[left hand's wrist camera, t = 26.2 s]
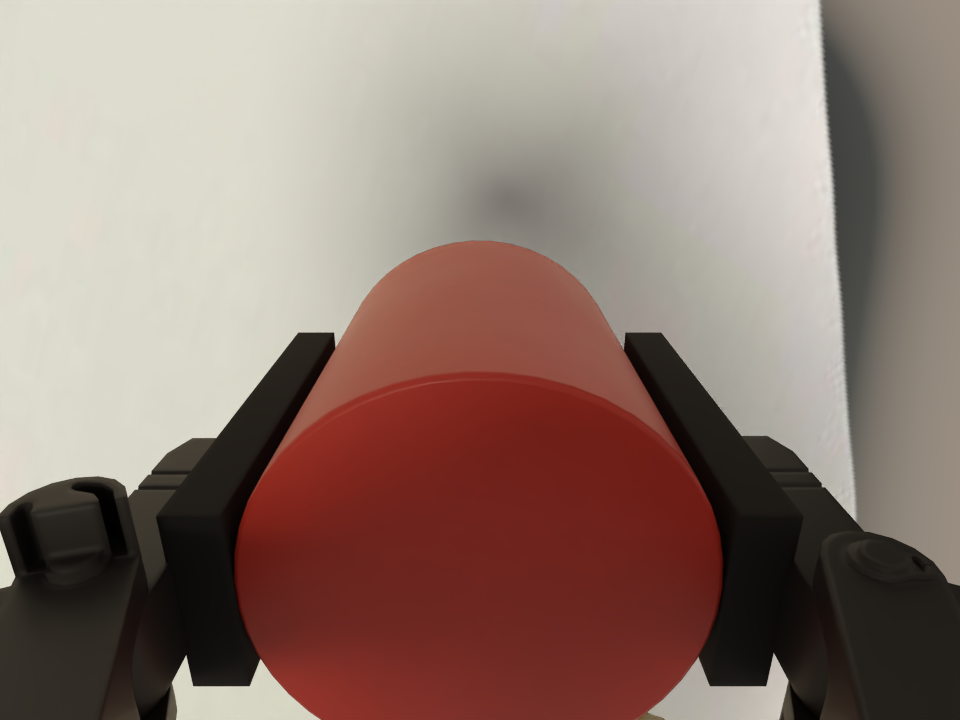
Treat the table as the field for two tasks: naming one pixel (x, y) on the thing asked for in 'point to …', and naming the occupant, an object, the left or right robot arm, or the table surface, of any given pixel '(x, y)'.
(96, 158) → the table surface
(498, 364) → the can
